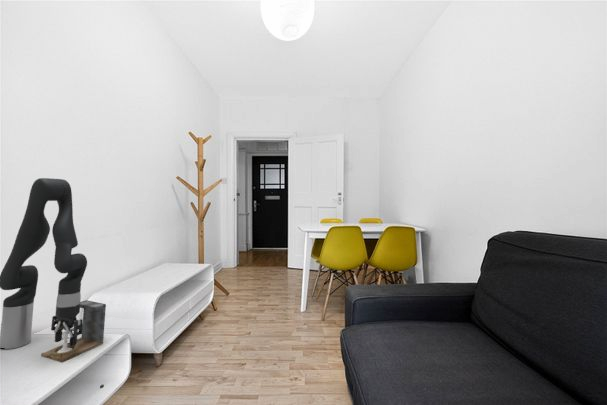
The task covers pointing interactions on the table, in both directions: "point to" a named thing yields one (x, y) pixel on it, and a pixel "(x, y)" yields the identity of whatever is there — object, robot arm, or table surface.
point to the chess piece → (64, 343)
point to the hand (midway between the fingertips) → (65, 343)
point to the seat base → (84, 332)
